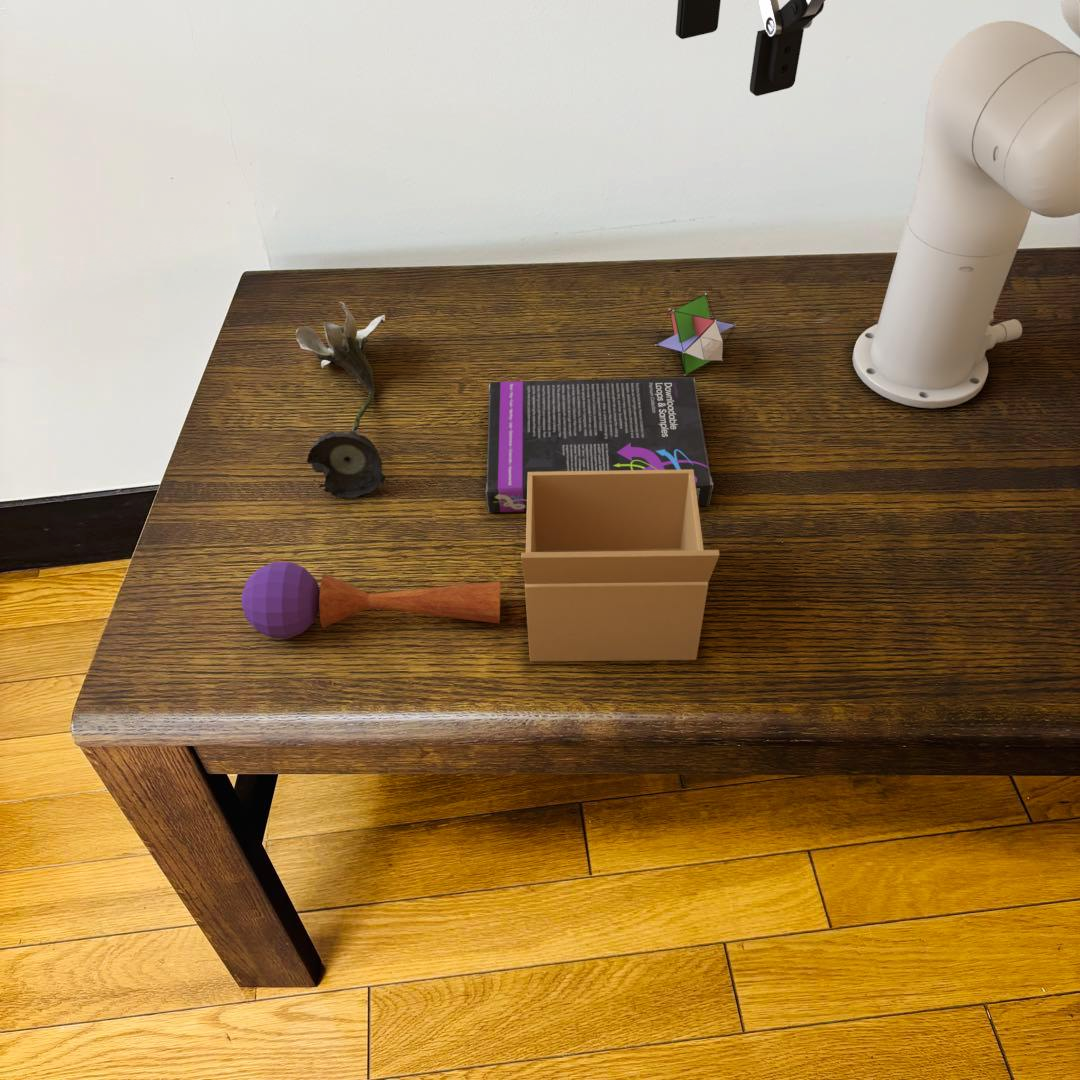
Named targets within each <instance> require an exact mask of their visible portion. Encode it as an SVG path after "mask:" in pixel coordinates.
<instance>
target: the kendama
mask: <svg viewBox="0 0 1080 1080" xmlns="http://www.w3.org/2000/svg"><path fill="white" fill-rule="evenodd" d="M240 599H241V601H240V603H241V608H242V611H243V613H244V617H245V620H246V621H247V622H248V623H249V624H250V625H251V626H252V627H253V628H254V629H255V630H256V632H258V633H259V634H262V635H264V636H266V637H269V638H271V639H290V638H293V637H295V636H298V635H300V634H302V633H303V634H304V632H305V631H306V630H308V628H309V627H311V625H313V624H314V623H315V622H316V621H317V618H318V615H319V620H320V624H321V627H322V628H325V627H329V626H330V625H332V624H335V623H337V622H339V621H342V620H344V619H346V618H348V617H351V616H353V615H356V614H358V613H361V612H362V611H365V610H367V609H374V610H384V611H392V612H398V613H399V612H400V613H408V614H409V613H410V614H416V615H425V616H432V617H433V616H434V617H442V618H451V619H458V620H467V621H477V622H484V623H493V624H498V625H499V624H500V621H501V581H488V582H487V581H486V582H479V583H477V582H476V583H469V584H468V583H467V584H458V585H448V586H446V585H445V586H437V587H428V588H417V589H405V590H397V591H387V592H375V593H368V592H366V591H364V590H362V589H360V588H357V587H355V586H353V585H351V584H349V583H346V582H344V581H342V580H340V579H338V578H335V577H334V576H331V575H329V574H327V573H323V574H322V577H321V581H320V587H319V584H318V582H317V579H316V578H315V577H314V576H313V575H312V573H311V572H309V570H308V569H307V568H306V567H303V566H302V565H299V564H297V563H295V562H293V561H274V562H272V563H270V564H266V565H264V566H262V567H259V568H258V569H257V570H256V571H255V572H253V573H252V575H250V576H249V577H248V578H247V580H246V582H245V585H244V588H243V590H242V593H241V598H240Z"/></svg>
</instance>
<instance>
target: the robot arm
mask: <svg viewBox="0 0 1080 1080" xmlns="http://www.w3.org/2000/svg"><path fill="white" fill-rule="evenodd" d="M757 2H758V4H759V8H760V13H761V17H762V22H763V26H764V29H761V30H757V31H756V32H757V33H756V37H755V45H754V51H753V57H752V67H751V73H750V81H749V92H750V93H751V94H752V95H754V96H755V97H758V96H759V97H760V96H763V95H764V96H765V95H768V94H771V93H775V92H776V93H777V92H779V91H783V90H788V89H790V88H792V87H793V86H794V85H795V82H796V79H797V73H798V67H799V61H800V54H801V48H802V43H803V37H804V32H805V30H806V29H808V28H810V27H812V26H811V25H812V24H813V20H814V19H815V18H816V17H817V16H818V15H820V14H821V13H822V12H823V9H824V6H825V2H826V0H789V1H787V2H786V3H785V4H784V5H783V6H782V7H781V8H780V4H779V0H758V1H757ZM1060 8H1061V13H1062V16H1063V19H1064V21H1065V23H1066V24H1067V26H1068V27H1069V29H1070V30H1071V32H1073V33H1074V34H1075V35H1076V36H1077V37H1078V39H1080V0H1060ZM676 9H677V10H676V21H675V35H676V36H677V37H678V38H679V39H681V40H685V39H689V38H694V37H698V36H702V35H707V34H711V33H714V32H716V31H717V30H718V27H719V19H720V11H721V0H677V8H676ZM925 109H926V111H925V120H924V133H923V135H924V136H923V146H922V155H921V161H920V166H919V172H918V177H917V181H916V185H915V190H914V193H913V197H912V201H911V204H910V208H909V212H908V215H907V217H906V221H905V225H904V228H903V232H902V235H901V239H900V243H899V246H898V250H897V254H896V257H895V260H894V264H893V268H892V271H891V275H890V278H889V282H888V286H887V289H886V292H885V297H884V300H883V304H882V307H881V310H880V314H879V317H878V321H877V323H876V324H874V325H872V326H870V327H868V328H867V329H866V330H864V331H863V332H862V333H861V334H860V335H859V337H858V338H857V340H856V341H855V344H854V348H853V352H852V358H851V359H852V365H853V368H854V370H855V372H856V374H857V376H858V377H859V379H860V380H861V381H862V382H863V383H864V384H865V385H866V386H867V387H868V388H870V390H872V391H874V392H875V393H877V394H878V395H880V396H881V397H883V398H886V399H888V400H890V401H892V402H895V403H898V404H902V405H904V406H907V407H908V406H909V407H915V408H921V409H941V408H942V409H943V408H949V407H954V406H958V405H961V404H963V403H966V402H968V401H969V400H971V399H973V398H975V396H977V395H978V394H979V392H980V391H981V390H982V389H983V387H984V385H985V383H986V380H987V377H988V375H989V363H988V359H987V356H986V352H987V351H988V350H992V349H993V348H994V347H995V345H996V344H999V343H1001V344H1003V343H1007V342H1010V341H1014V340H1018V339H1019V338H1021V336H1022V334H1023V327H1022V323H1021V322H1020V321H1019V319H1015V318H1014V319H1010V320H1005V321H1002V322H999V323H996V324H995V325H990V324H993V322H994V319H995V317H994V312H995V309H996V306H997V304H998V302H999V298H1000V296H1001V293H1002V291H1003V288H1004V285H1005V282H1006V280H1007V277H1008V275H1009V273H1010V270H1011V267H1012V264H1013V262H1014V259H1015V257H1016V254H1017V251H1018V248H1019V246H1020V244H1021V241H1022V240H1023V237H1024V234H1025V231H1026V229H1027V226H1028V223H1029V221H1030V217H1031V213H1032V212H1033V213H1034V214H1037V215H1040V216H1042V217H1046V218H1052V219H1053V218H1055V219H1056V218H1057V219H1058V218H1066V217H1070V216H1071V217H1072V216H1075V215H1077V214H1080V54H1079V53H1077V52H1075V50H1072V49H1071V48H1070V47H1068V46H1066V45H1065V44H1063V42H1061V41H1059V40H1058V39H1057V38H1055V37H1054V36H1052V35H1050V34H1049V33H1047V32H1045V31H1044V30H1041V29H1040V28H1038V27H1035V26H1033V25H1030V24H1027V23H1024V22H1021V21H1014V20H1001V21H993V22H988V23H985V24H982V25H981V26H978V27H976V28H974V29H972V30H970V31H969V32H968V33H966V34H965V35H964V36H962V37H960V38H959V39H958V41H957V42H956V43H955V44H954V45H952V46H951V48H950V49H949V50H948V51H947V53H946V54H945V55H944V57H943V58H942V61H941V62H940V63H939V65H938V67H937V70H936V72H935V74H934V77H933V79H932V82H931V85H930V89H929V92H928V97H927V104H926V108H925Z"/></svg>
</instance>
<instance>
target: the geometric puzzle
mask: <svg viewBox="0 0 1080 1080" xmlns="http://www.w3.org/2000/svg"><path fill="white" fill-rule="evenodd" d="M714 305H716V307H717V308H718V309H719V310H721V312H722V313H723V314H724V315H726V314H725V312H724V311H723V310H722V309H721V308H720V307H719V305H717V304H716V303H714ZM709 308H710V311H711V313H712V316H713V318H711V317H710V311H709ZM714 314H715V313H714V311H713V309H712V305H711V303H710V301H709V297H708V295H707V293H704V294H703V295H700V296H697V297H696V298H694V299H691V300H689V301H687V302H685V303H681V304H679V305H678V306H676V307H672V308H668V313H667V316H666V318H665V320H664V322H663V325H662V328H661V331H660V333H659V336H658V339H657V341H656V344H655V345H654V346H656V347H657V348H658V349H659V350H660V351H662V353H663V354H665V356H666V357H667V358H668V359H669V360H670V361H671V362H672V363H673V364H675V362H674V361H673V359H671V358H670V357H669V356H668V355H667V354H666V353H664V351H663V350H662V349H661V348H660V347H662V348H665V349H669V350H672V351H675V352H677V354H678V357H679V360H680V363H681V367H682V369H683V370H682V369H681V368H680V367H679V366H678V365H677V364H675V366H676V367H677V368H678V369H679V370H681V372H682V373H683V374H684V376H687V375H688V374H691V373H693V372H694V373H695V372H697V371H699V370H701V369H702V370H703V366H704V365H706V366H705V368H707V367H709V366H711V365H714V364H716V362H718V363H719V362H724V358H723V356H725V355H726V351H727V350H725V351H724V350H723V349H724V346H725V345H726V342H727V341H728V339H729V337H732V335H733V333H734V329H735V328H736V326H737V324H736V323H730V322H726V321H722V320H718V319H716V317H715V315H714ZM668 316H669V318H668ZM667 318H668V320H667ZM666 321H667V322H666ZM669 321H671V327H672V331H673V332H672V333H673V335H671V336H670V337H668V338H666V339H664V340H662V341H660V342H659V340H660V338H661V337H662V335H663V333H664V330H665V329H666V327H667V325H668V322H669ZM665 324H666V325H665ZM732 327H733V328H732ZM731 328H732V329H731ZM729 329H731V331H730V332H729V334H728V336H727V338H726V339H725V342H724V340H723V337H722V335H721V333H723V332H725V331H727V330H729ZM730 335H731V336H730ZM730 341H731V339H729V341H728V343H727V345H729V344H730ZM724 352H725V353H724ZM680 353H681V355H680ZM723 353H724V355H723ZM712 361H714V362H715V361H716V362H715V363H712V364H709V365H707V364H708V363H710V362H712Z"/></svg>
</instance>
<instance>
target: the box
mask: <svg viewBox="0 0 1080 1080" xmlns="http://www.w3.org/2000/svg"><path fill="white" fill-rule="evenodd" d="M698 397H699V396H698V392H697V383H696V378H695V377H693V376H688V377H687V376H686V377H684V376H683V377H682V376H681V377H680V376H679V377H678V376H677V377H676V376H675V377H639V378H637V377H636V378H634V377H633V378H632V377H631V378H595V379H594V378H593V379H554V380H553V379H552V380H550V379H549V380H530V381H529V380H526V381H524V380H523V381H522V380H521V381H490V383H489V384H488V420H487V421H488V423H487V455H486V456H487V457H486V458H487V460H486V461H487V462H486V482H485V483H486V484H485V490H484V492H485V493H484V494H485V501H486V507H487V512H488V513H489V514H490V513H493V514H494V513H523V512H527V479H528V472H554V471H621V470H688V469H693V470H694V477H695V485H696V493H697V500H698V507H708V506H709V505H710V502H711V499H712V494H713V489H714V482H713V477H712V475H711V470H710V469H711V468H710V463H709V456H708V450H707V445H706V439H705V433H704V426H703V422H702V421H703V420H702V415H701V410H700V404H699V398H698Z"/></svg>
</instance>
